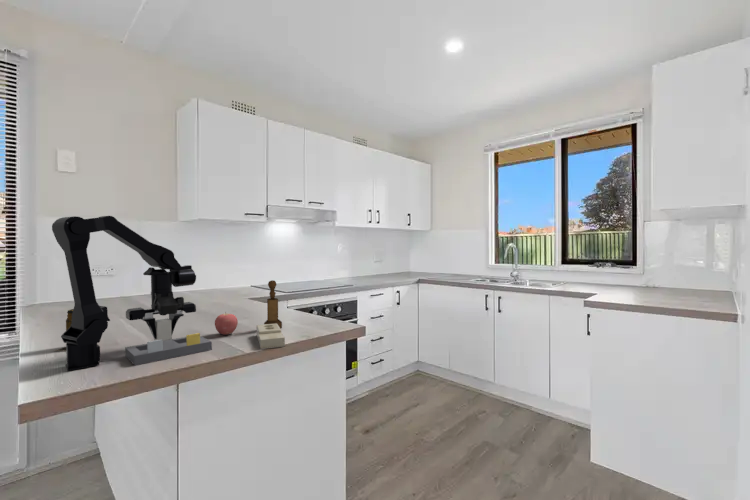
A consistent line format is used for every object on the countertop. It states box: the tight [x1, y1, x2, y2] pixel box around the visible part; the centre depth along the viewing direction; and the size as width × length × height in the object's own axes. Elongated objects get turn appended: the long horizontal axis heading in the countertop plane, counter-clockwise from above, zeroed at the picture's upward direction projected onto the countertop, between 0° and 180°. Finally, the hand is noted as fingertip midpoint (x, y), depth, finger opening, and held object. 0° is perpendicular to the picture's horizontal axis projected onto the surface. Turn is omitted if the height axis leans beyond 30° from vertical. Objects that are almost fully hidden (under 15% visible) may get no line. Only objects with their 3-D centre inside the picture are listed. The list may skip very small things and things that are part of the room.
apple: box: [214, 311, 239, 336], centre depth 132 cm, size 7×7×8 cm
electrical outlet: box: [255, 323, 286, 350], centre depth 123 cm, size 7×4×18 cm
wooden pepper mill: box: [263, 280, 283, 330], centre depth 141 cm, size 7×6×18 cm
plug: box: [153, 317, 173, 341], centre depth 119 cm, size 4×4×8 cm
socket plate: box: [124, 332, 213, 366], centre depth 111 cm, size 20×12×6 cm, turn 134°
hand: (162, 337), depth 119 cm, fingers closed on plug, 4 cm apart
